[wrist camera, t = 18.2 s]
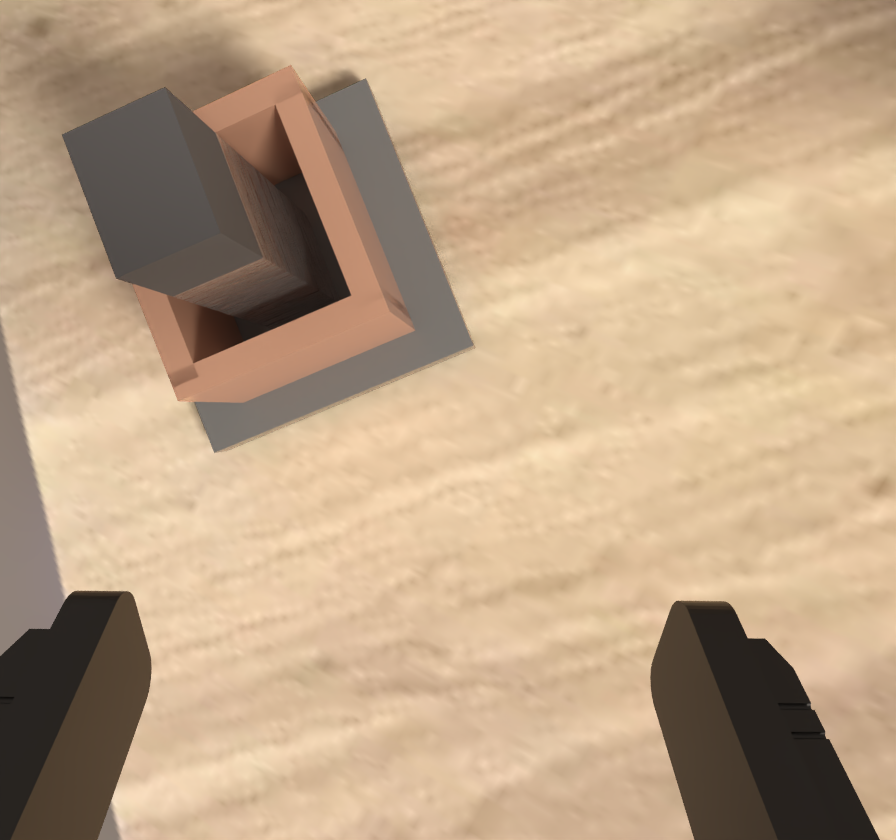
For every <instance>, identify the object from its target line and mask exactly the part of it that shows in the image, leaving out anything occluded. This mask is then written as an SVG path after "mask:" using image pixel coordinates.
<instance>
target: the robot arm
mask: <svg viewBox="0 0 896 840" xmlns="http://www.w3.org/2000/svg"><path fill="white" fill-rule="evenodd" d="M150 681H151V657H150V652H149V649H148V645H147V642H146V638H145V635H144V631H143V628H142V624H141V620H140V617H139V613H138V610H137V606H136V603H135V599H134V597H133V595H132V594H131V593H130V592H128V591H74V592H72V593H71V594H70V595H69V596H68V597H67V599H66V600H65V602H64V603H63V605H62V607H61V609H60V611H59V613H58V615H57V617H56V619H55V621H54V622H53V624H52V627H51V628H50V629H29V630H28V631H27V632H26V633H25V634H24V635H23V636H21V638H19V639H18V640H17V641H16V642H15V643H14V644H13V645H12V646H11V647H10V648H9V649H8V650H6V651H5V652H4V653H3V654H2V655H1V656H0V840H97V839H98V836H99V833H100V830H101V828H102V825H103V822H104V819H105V816H106V813H107V810H108V808H109V805H110V802H111V799H112V797H113V794H114V791H115V788H116V785H117V782H118V779H119V777H120V774H121V771H122V768H123V765H124V762H125V760H126V757H127V754H128V751H129V748H130V745H131V742H132V740H133V737H134V734H135V731H136V728H137V725H138V723H139V720H140V717H141V714H142V711H143V708H144V706H145V703H146V700H147V696H148V692H149V687H150ZM651 692H652V698H653V703H654V707H655V710H656V713H657V717H658V720H659V723H660V727H661V730H662V733H663V737H664V740H665V743H666V747H667V750H668V753H669V757H670V760H671V763H672V767H673V770H674V773H675V776H676V780H677V783H678V786H679V790H680V793H681V796H682V800H683V803H684V806H685V810H686V813H687V816H688V820H689V823H690V826H691V830H692V833H693V836H694V840H880V839H879V837H878V835H877V833H876V831H875V829H874V827H873V825H872V823H871V821H870V819H869V817H868V816H867V814H866V812H865V810H864V808H863V806H862V804H861V802H860V800H859V798H858V796H857V794H856V792H855V790H854V788H853V786H852V784H851V782H850V780H849V778H848V776H847V774H846V772H845V770H844V768H843V766H842V764H841V762H840V760H839V758H838V756H837V754H836V752H835V750H834V748H833V746H832V744H831V742H830V740H829V739H826V737H825V730H824V728H823V726H822V724H821V722H820V720H819V718H818V716H817V714H816V712H815V710H812V709H811V702H810V700H809V698H808V696H807V694H806V692H805V690H804V688H803V686H802V684H801V682H800V680H799V678H798V676H797V674H796V672H795V670H794V669H793V667H792V666H791V665H790V664H789V663H788V662H787V661H786V660H785V659H784V658H783V657H782V656H781V655H780V654H779V653H778V652H777V651H776V650H775V649H774V648H773V646H772V645H771V644H770V643H769V642H768V641H767V640H766V639H750V638H747V636H746V634H745V632H744V629H743V627H742V625H741V623H740V621H739V618H738V616H737V614H736V612H735V610H734V609H733V607H732V606H731V605H730V604H729V603H727V602H724V601H676V602H675V603H674V604H673V605H672V607H671V610H670V612H669V615H668V618H667V621H666V624H665V627H664V630H663V633H662V635H661V638H660V641H659V644H658V647H657V650H656V653H655V656H654V659H653V662H652V666H651Z"/></svg>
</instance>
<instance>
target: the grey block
mask: <svg viewBox="0 0 896 840" xmlns="http://www.w3.org/2000/svg"><path fill="white" fill-rule="evenodd" d="M62 136H63V139H64V142H65V144H66V147H67V149H68V152H69V155H70V157H71V160H72V163H73V165H74V168H75V171H76V173H77V176H78V179H79V181H80V184H81V187H82V189H83V192H84V194H85V197H86V200H87V202H88V205H89V208H90V210H91V213H92V216H93V218H94V221H95V224H96V226H97V229H98V232H99V234H100V237H101V239H102V242H103V245H104V247H105V250H106V253H107V255H108V258H109V261H110V263H111V266H112V269H113V271H114V274H115V277H116V278H117V279H120V280H123V281H126V282H129V283H132V284H135V285H138V286H141V287H145V288H148V289H151V290H154V291H157V292H160V293H163V294H166V295H169V296H172V297H176V298H179V299H182V300H185V301H188V302H191V303H194V304H197V305H200V306H204V307H207V308H210V309H213V310H216V311H219V312H222V313H225V314H228V315H231V316H235V317H238V318H241V319H244V320H247V321H250V322H253V323H256V324H259V325H263V326H266V327H269V328H272V329H275V328H277V327H279V326H282V325H284V324H286V323H289V322H291V321H293V320H296V319H298V318H300V317H303V316H305V315H307V314H310V313H312V312H314V311H317V310H319V309H321V308H324V307H326V306H328V305H331V304H333V303H335V302H338V301H340V300H339V297H338V295H337V292H336V290H335V287H334V284H333V282H332V279H331V277H330V274H329V272H328V269H327V266H326V264H325V261H324V259H323V256H322V253H321V251H320V248H319V246H318V243H317V240H316V238H315V235H314V233H313V230H312V227H311V225H310V222H309V220H308V217H307V215H306V214H305V213H304V212H303V211H302V210H301V209H300V208H299V207H297V206H296V205H295V204H294V203H293V202H292V201H291V200H290V199H289V198H287V197H286V196H285V195H284V194H283V193H282V192H281V191H280V190H279V189H277V188H276V187H275V186H274V185H273V184H272V183H271V182H270V181H269V180H267V179H266V178H265V177H264V176H263V175H262V174H261V173H260V172H259V171H257V170H256V169H255V168H254V167H253V166H252V165H251V164H250V163H249V162H247V161H246V160H245V159H244V158H243V157H242V156H241V155H240V154H239V153H237V152H236V151H235V150H234V149H233V148H232V147H231V146H230V145H229V144H227V143H226V142H225V141H224V140H223V139H222V138H221V137H220V136H219V135H218V134H216V133H215V132H214V131H213V130H212V129H211V128H210V127H209V126H208V125H206V124H205V123H204V122H203V121H202V120H201V119H200V118H199V117H198V116H196V115H195V114H194V113H193V112H192V111H191V110H190V109H189V108H188V107H186V106H185V105H184V104H183V103H182V102H181V101H180V100H179V99H178V98H176V97H175V96H174V95H173V94H172V93H171V92H170V91H169V90H168V89H166V88H165V87H164V88H162V89H160V90H158V91H155V92H153V93H151V94H149V95H147V96H145V97H142V98H140V99H138V100H136V101H134V102H132V103H129V104H127V105H125V106H123V107H121V108H119V109H116V110H114V111H112V112H110V113H108V114H106V115H103V116H101V117H99V118H97V119H95V120H93V121H90V122H88V123H86V124H84V125H82V126H80V127H77V128H75V129H73V130H71V131H69V132H67V133H64V134H62Z"/></svg>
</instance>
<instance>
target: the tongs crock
mask: <svg viewBox="0 0 896 840" xmlns="http://www.w3.org/2000/svg"><path fill="white" fill-rule="evenodd" d="M192 112H193V113H194V114H195V115H196V116H198V117H199V118H200V119H201V120H202V121H203V122H204V123H205V124H206V125H208V126H209V127H210V128H211V129H212V130H213V131H214V132H215V133H216V134H218V135H219V136H220V137H221V138H222V139H223V140H224V141H225V142H226V143H227V144H229V145H230V146H231V147H232V148H233V149H234V150H235V151H236V152H237V153H239V154H240V155H241V156H242V157H243V158H244V159H245V160H246V161H247V162H249V163H250V164H251V165H252V166H253V167H254V168H255V169H256V170H257V171H259V172H260V173H261V174H262V175H263V176H264V177H265V178H266V179H267V180H269V181H270V182H271V183H272V184H273V185H274V186H275V187H276V188H277V189H279V190H280V191H281V192H282V193H283V194H284V195H285V196H286V197H287V198H289V199H290V200H291V201H292V202H293V203H294V204H295V205H296V206H297V207H299V208H300V209H301V210H302V211H303V212H304V213H305V214H306V215H307V217H308V220H309V222H310V225H311V227H312V230H313V233H314V235H315V238H316V240H317V243H318V246H319V248H320V251H321V253H322V256H323V259H324V261H325V264H326V266H327V269H328V272H329V274H330V277H331V279H332V282H333V284H334V287H335V290H336V292H337V295H338V297H339V300H340V301H338V302H335V303H333V304H331V305H328V306H326V307H324V308H321V309H319V310H317V311H314V312H312V313H310V314H307V315H305V316H303V317H300V318H298V319H296V320H293V321H291V322H289V323H286V324H284V325H282V326H279V327H277V328H275V329H272V328H269V327H266V326H263V325H259V324H256V323H253V322H250V321H247V320H244V319H241V318H238V317H235V316H231V315H228V314H225V313H222V312H219V311H216V310H213V309H210V308H207V307H204V306H200V305H197V304H194V303H191V302H188V301H185V300H182V299H179V298H176V297H172V296H169V295H166V294H163V293H160V292H157V291H154V290H151V289H148V288H145V287H141V286H138V285H135V284H132V285H133V287H134V290H135V292H136V295H137V297H138V300H139V302H140V305H141V308H142V310H143V313H144V315H145V318H146V320H147V323H148V325H149V328H150V331H151V333H152V336H153V338H154V341H155V343H156V346H157V348H158V351H159V354H160V356H161V359H162V361H163V364H164V366H165V369H166V371H167V374H168V377H169V379H170V382H171V384H172V387H173V389H174V392H175V394H176V397H177V400H178V401H187V402H195V405H196V407H197V410H198V412H199V415H200V417H201V420H202V422H203V425H204V428H205V430H206V433H207V435H208V438H209V440H210V443H211V445H212V448H213V451H214V453H216V452H223V451H227V450H230V449H232V448H235V447H237V446H240V445H242V444H244V443H247V442H249V441H252V440H254V439H256V438H259V437H261V436H264V435H266V434H269V433H271V432H273V431H276V430H278V429H281V428H283V427H285V426H288V425H290V424H293V423H295V422H298V421H300V420H302V419H305V418H307V417H310V416H312V415H314V414H317V413H319V412H322V411H324V410H327V409H329V408H331V407H334V406H336V405H339V404H341V403H344V402H346V401H348V400H351V399H353V398H356V397H358V396H360V395H363V394H365V393H368V392H370V391H373V390H375V389H377V388H380V387H382V386H385V385H387V384H389V383H392V382H394V381H397V380H399V379H402V378H404V377H406V376H409V375H411V374H414V373H416V372H418V371H421V370H423V369H426V368H428V367H431V366H433V365H435V364H438V363H440V362H443V361H445V360H447V359H450V358H452V357H455V356H457V355H460V354H462V353H464V352H467V351H469V350H472V349H474V348H475V345H474V343H473V340H472V338H471V335H470V333H469V330H468V328H467V326H466V323H465V321H464V318H463V316H462V313H461V311H460V308H459V306H458V303H457V301H456V298H455V296H454V293H453V291H452V288H451V286H450V283H449V281H448V278H447V276H446V273H445V271H444V268H443V266H442V264H441V261H440V259H439V256H438V254H437V251H436V249H435V246H434V244H433V241H432V239H431V236H430V234H429V231H428V229H427V226H426V224H425V221H424V219H423V216H422V214H421V211H420V209H419V207H418V204H417V202H416V199H415V197H414V194H413V192H412V189H411V187H410V184H409V182H408V179H407V177H406V174H405V172H404V169H403V167H402V164H401V162H400V159H399V157H398V154H397V152H396V149H395V147H394V145H393V142H392V140H391V137H390V135H389V132H388V130H387V127H386V125H385V122H384V120H383V117H382V115H381V112H380V110H379V107H378V105H377V102H376V100H375V97H374V95H373V92H372V90H371V88H370V86H369V84H368V82H367V80H366V79H363V80H361V81H359V82H357V83H355V84H353V85H350V86H348V87H346V88H344V89H342V90H340V91H338V92H335V93H333V94H331V95H329V96H327V97H325V98H322V99H320V100H318V101H315V100H314V99H313V97H312V96H311V94H310V93H309V91H308V90H307V88H306V87H305V85H304V84H303V82H302V81H301V79H300V78H299V76H298V75H297V73H296V72H295V70H294V69H293V67H292V66H291V65H290V66H288V67H286V68H284V69H282V70H279V71H277V72H275V73H273V74H271V75H269V76H267V77H264V78H262V79H260V80H258V81H256V82H254V83H252V84H250V85H247V86H245V87H243V88H241V89H239V90H237V91H235V92H233V93H230V94H228V95H226V96H224V97H222V98H220V99H218V100H216V101H213V102H211V103H209V104H207V105H205V106H203V107H201V108H199V109H196V110H194V111H192Z"/></svg>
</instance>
